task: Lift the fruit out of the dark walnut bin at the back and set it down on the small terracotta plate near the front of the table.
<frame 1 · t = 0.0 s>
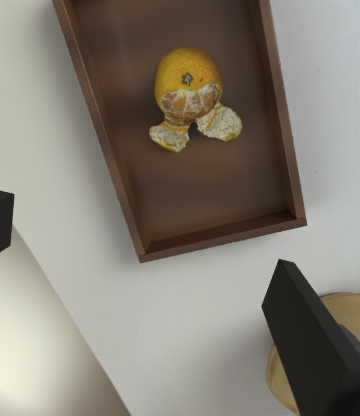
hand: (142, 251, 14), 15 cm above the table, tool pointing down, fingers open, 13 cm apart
fruit: (187, 110, 27), resting on bin
ceramic vessel: (337, 339, 33), on the table
bin: (187, 110, 27), on the table
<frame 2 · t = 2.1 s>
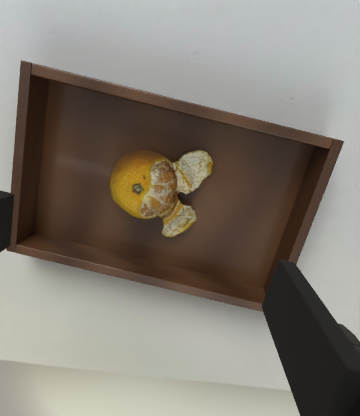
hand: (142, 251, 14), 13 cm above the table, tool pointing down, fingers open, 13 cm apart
fruit: (165, 191, 27), resting on bin
bin: (165, 191, 27), on the table
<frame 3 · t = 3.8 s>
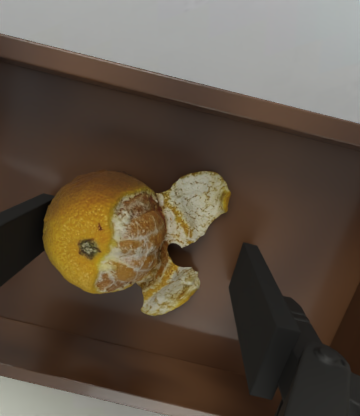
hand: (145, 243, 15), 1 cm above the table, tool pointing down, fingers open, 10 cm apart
fruit: (147, 239, 16), resting on bin, touching gripper
bin: (147, 238, 16), on the table
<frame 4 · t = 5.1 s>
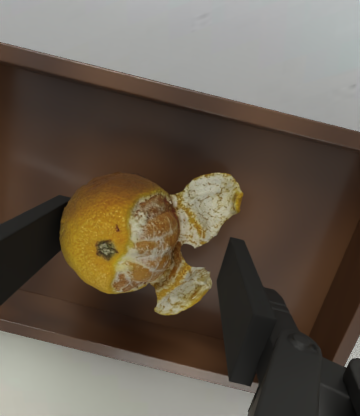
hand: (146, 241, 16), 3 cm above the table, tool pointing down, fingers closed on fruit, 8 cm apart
fruit: (160, 240, 16), point 3 cm above the table, touching gripper
bin: (158, 223, 18), on the table
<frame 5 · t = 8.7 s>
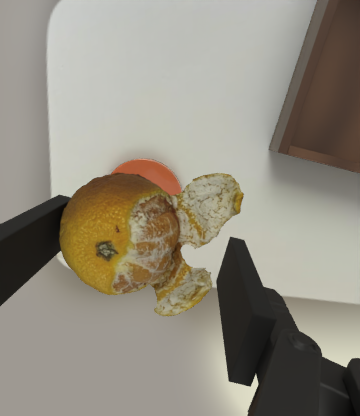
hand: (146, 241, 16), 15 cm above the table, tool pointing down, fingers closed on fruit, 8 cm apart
fruit: (160, 240, 16), point 14 cm above the table, touching gripper
plate: (144, 197, 30), on the table
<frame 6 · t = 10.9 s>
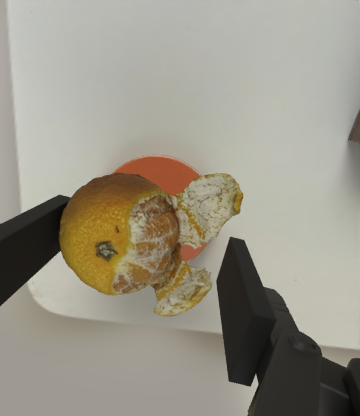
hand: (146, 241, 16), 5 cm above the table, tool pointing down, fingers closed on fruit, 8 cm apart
fruit: (160, 240, 16), point 5 cm above the table, touching gripper
plate: (157, 212, 20), on the table
when the fingers open (1 cm above the table, at t = 12.4 s): fruit stays where it is, resting on plate.
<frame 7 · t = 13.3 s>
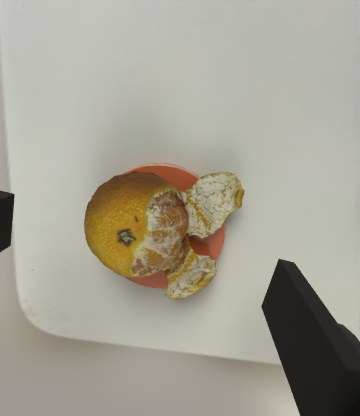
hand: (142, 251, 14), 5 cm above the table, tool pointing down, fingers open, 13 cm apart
fruit: (170, 232, 18), point 1 cm above the table, touching plate
plate: (160, 226, 19), on the table
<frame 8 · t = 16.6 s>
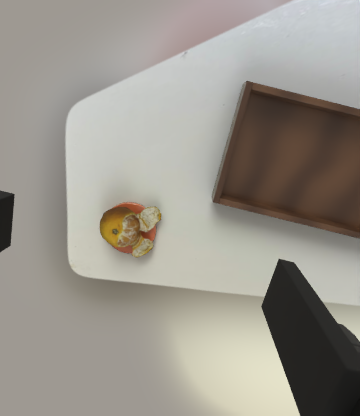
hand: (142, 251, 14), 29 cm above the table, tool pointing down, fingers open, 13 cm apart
fruit: (134, 229, 44), point 1 cm above the table, touching plate
bin: (311, 164, 41), on the table
plate: (130, 227, 45), on the table
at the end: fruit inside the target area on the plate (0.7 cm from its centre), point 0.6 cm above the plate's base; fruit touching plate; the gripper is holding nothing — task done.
